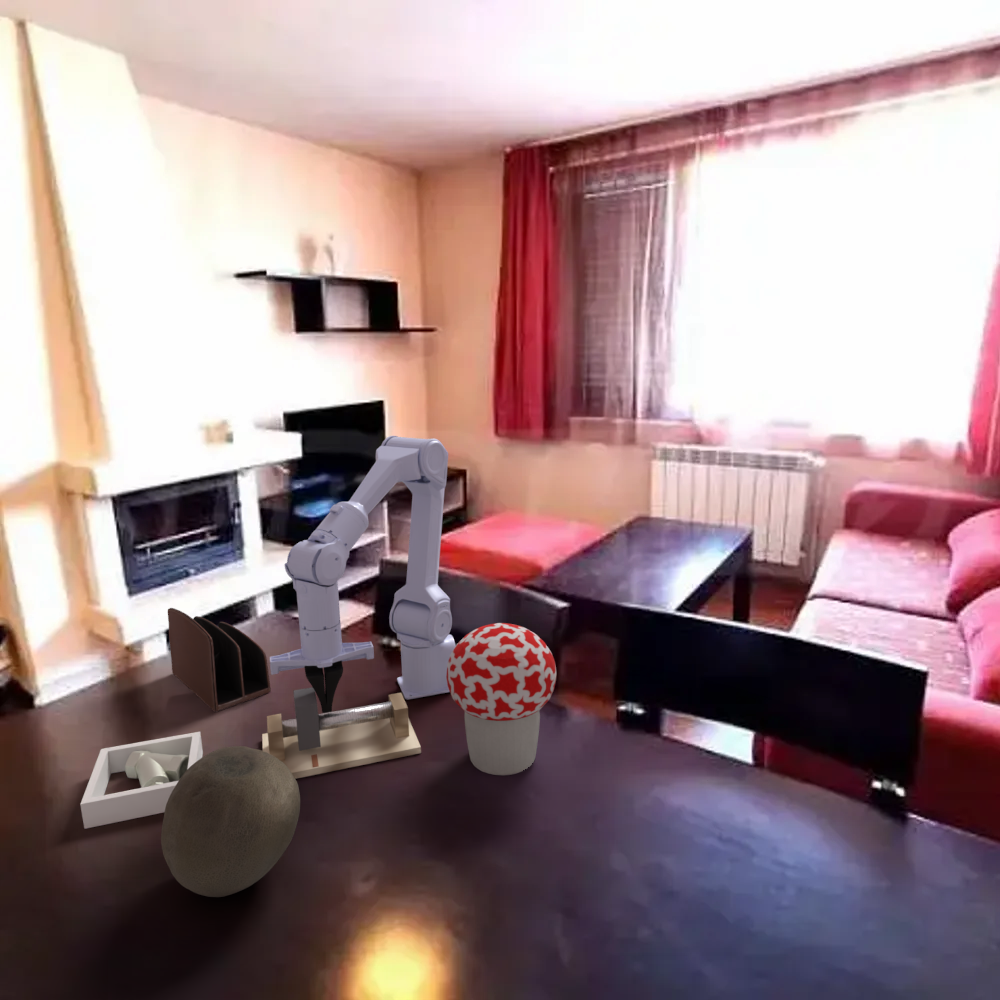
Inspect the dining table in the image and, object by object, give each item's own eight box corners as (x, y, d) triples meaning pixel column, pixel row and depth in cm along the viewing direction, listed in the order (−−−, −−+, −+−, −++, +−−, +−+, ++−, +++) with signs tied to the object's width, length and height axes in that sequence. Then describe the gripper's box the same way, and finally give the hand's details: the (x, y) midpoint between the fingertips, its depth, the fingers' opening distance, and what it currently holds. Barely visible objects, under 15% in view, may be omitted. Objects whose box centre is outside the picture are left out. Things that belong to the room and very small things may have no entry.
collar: (317, 728, 106) (314, 686, 104) (320, 746, 101) (317, 703, 100) (297, 732, 105) (293, 690, 104) (299, 750, 100) (295, 707, 99)
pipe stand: (404, 713, 114) (403, 681, 113) (421, 752, 103) (419, 717, 102) (262, 739, 107) (259, 705, 106) (264, 785, 96) (260, 747, 95)
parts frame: (202, 752, 104) (200, 731, 103) (196, 805, 92) (193, 781, 91) (104, 770, 100) (101, 749, 99) (84, 828, 88) (80, 804, 87)
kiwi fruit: (225, 949, 70) (210, 817, 67) (143, 893, 77) (125, 772, 74) (329, 861, 81) (320, 746, 78) (249, 820, 89) (237, 713, 86)
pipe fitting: (164, 806, 93) (194, 772, 99) (159, 781, 92) (190, 749, 98) (111, 800, 94) (144, 767, 101) (105, 776, 93) (139, 744, 99)
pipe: (403, 710, 109) (402, 695, 108) (406, 718, 106) (406, 703, 106) (268, 735, 102) (267, 719, 102) (268, 744, 100) (267, 728, 99)
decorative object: (497, 804, 91) (494, 663, 87) (427, 754, 103) (422, 626, 98) (578, 758, 101) (580, 628, 97) (506, 716, 113) (505, 599, 108)
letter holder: (215, 713, 115) (205, 634, 112) (172, 674, 129) (163, 603, 126) (272, 693, 122) (264, 617, 119) (225, 658, 136) (217, 589, 133)
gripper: (267, 641, 94) (276, 732, 97) (375, 626, 99) (380, 713, 102) (266, 622, 101) (274, 708, 104) (367, 608, 105) (372, 691, 108)
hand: (326, 709), depth 103 cm, fingers closed
